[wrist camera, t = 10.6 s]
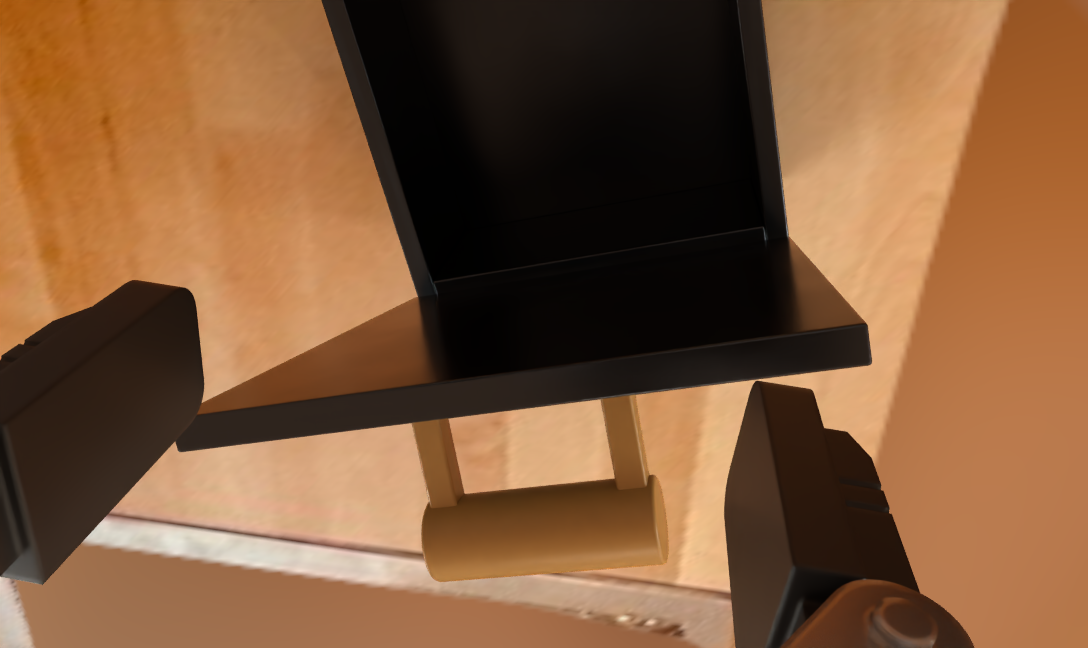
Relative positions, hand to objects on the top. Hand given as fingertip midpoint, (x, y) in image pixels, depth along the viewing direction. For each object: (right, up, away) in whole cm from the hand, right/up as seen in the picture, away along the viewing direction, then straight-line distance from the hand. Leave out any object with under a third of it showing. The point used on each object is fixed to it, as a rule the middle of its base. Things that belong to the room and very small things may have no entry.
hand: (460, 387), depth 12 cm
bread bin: (+2, +12, +23) cm, 26 cm away
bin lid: (+2, +1, +12) cm, 12 cm away
